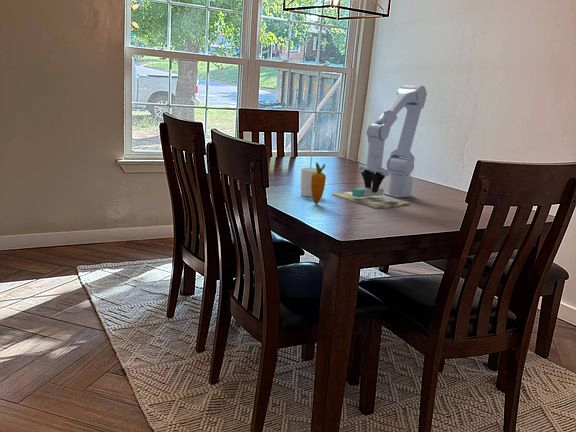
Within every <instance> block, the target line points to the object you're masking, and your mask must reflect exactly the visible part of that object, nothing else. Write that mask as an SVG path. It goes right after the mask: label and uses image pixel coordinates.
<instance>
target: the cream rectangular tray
mask: <svg viewBox="0 0 576 432" xmlns="http://www.w3.org/2000/svg"><path fill="white" fill-rule="evenodd" d="M352 192H353V191H344V192H332V193H331V196H334V197H336V198H340V199H343V200H346V201H350V202H353V203H356V204H360V205H363V206H366V207H369V208H373V209H386V208H387V209H388V208H396V207H404V206H410V205H411V202H409V201H405V200H400V199H398V198H395V197H391V196H388V195H384V194H383V195H382V196H371V197H360V198H357V197H354V196H352Z"/></svg>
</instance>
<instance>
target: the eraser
mask: <svg viewBox="0 0 576 432" xmlns="http://www.w3.org/2000/svg"><path fill="white" fill-rule="evenodd" d="M351 192H352V196H354V197H357V198H360V197H371V196H382V195H383V196H384V194H383V193H385V191H384V188H383V187H380V186H379V189H378V192H375V193H373V192H372V186H371V187H368V188H365V187H358V188H357V187H356V188H352V191H351Z"/></svg>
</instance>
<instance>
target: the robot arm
mask: <svg viewBox="0 0 576 432" xmlns="http://www.w3.org/2000/svg"><path fill="white" fill-rule="evenodd" d="M427 95H428V92H427V90H426V87H425V85H422V84H421V85H413V84H412V85H410V84H404V83H403V84H401V85H400V86H399V88H398V89H397V92H396V98H394V100H393V102H392V103H391V106H390V107H389V108H388V109H387V108H386V109H384V110H383V111H382V113H381V114H380V116H378V118H377V120H375V122H373V123H371V124H370V125H368V127H367V130H366V137H367V143H368V146H367V147H368V148H367V156H366V164H358V169H357V170H358V171H361V172H360V174H361V176H362V178H363V179H362V180H363V182H364V188H368V187H372V192H373V193H375V192H378V189H379V187H380V186H381V184H382V183H383V180H384V179H385V178H386V176H387V177H389V179H388V188H387V189H388V190H387V191H386V192H383V195H384V196H388V197H392V198H395V199H398V198H408V197H410V198H411V197H413V194H412V190H413V184H414V183H413V182H414V181H413V177H412V175H411V173H413V171H414V168H415V160H416V158H415V155H413V153H412V152H411V149H412V145H413V141H414V137H415V135H416V131H417V127H418V123H419V120H420V114H421V112H422V110H423V109H424V108H425V107H424V106H425V103H426V99H427ZM403 108H404V109H406V114H405V118H404V122H403V126H402V129H401V133H400V137H399V141H398V144H397V148H395V149H394V150H393V151H391V152H390V154H389V157H388V158H387V161H386V168H382V167H383V160H384V151H385V150H384V148H385V142H386V140H387V139H388V137H389V135H390V131H391V127H393V125H394V123H396V121H397V120H398V116H397V115H398V114H399V113H400V112H401V110H403Z"/></svg>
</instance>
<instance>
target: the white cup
mask: <svg viewBox="0 0 576 432" xmlns="http://www.w3.org/2000/svg"><path fill="white" fill-rule="evenodd" d="M315 172H317V170H316V167H315V168H313V167H302V168H300V195H301V196H303V197H310V198H311V197H312V189H311V180H312V174H313V173H315ZM321 173H323V171H322V172H321ZM312 198H313V197H312Z"/></svg>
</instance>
